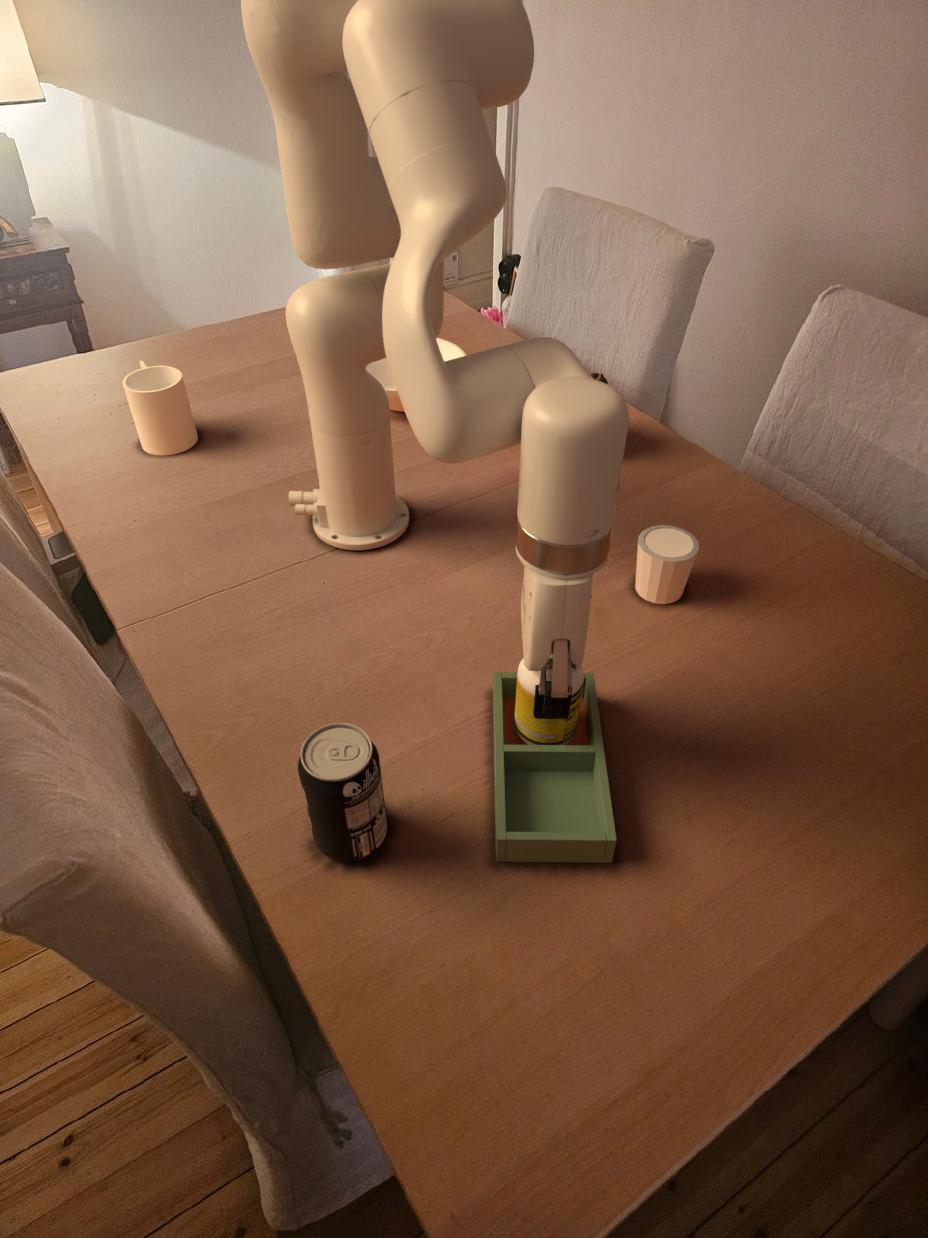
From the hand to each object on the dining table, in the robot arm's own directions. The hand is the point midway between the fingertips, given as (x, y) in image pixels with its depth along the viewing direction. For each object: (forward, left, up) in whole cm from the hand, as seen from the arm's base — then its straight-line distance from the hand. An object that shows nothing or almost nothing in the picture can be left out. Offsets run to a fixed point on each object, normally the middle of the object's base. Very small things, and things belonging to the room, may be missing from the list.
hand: (548, 687), depth 77 cm
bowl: (-18, +68, -7) cm, 71 cm away
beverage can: (-18, -12, -7) cm, 23 cm away
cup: (-54, +57, -7) cm, 79 cm away
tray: (0, -5, -7) cm, 8 cm away
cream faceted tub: (+15, +22, -7) cm, 28 cm away
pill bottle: (0, 0, -6) cm, 6 cm away
